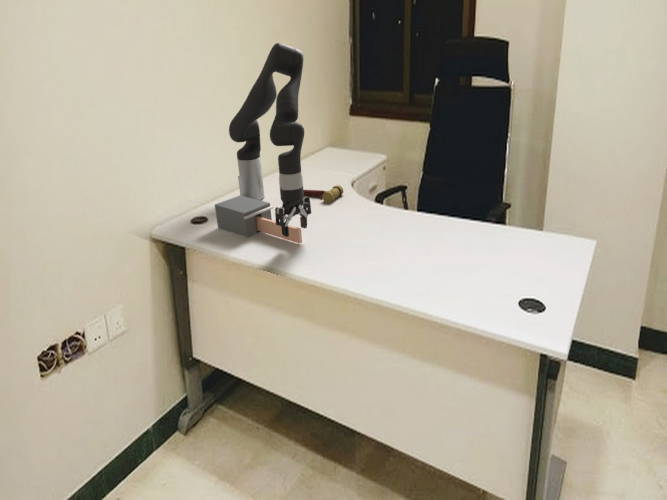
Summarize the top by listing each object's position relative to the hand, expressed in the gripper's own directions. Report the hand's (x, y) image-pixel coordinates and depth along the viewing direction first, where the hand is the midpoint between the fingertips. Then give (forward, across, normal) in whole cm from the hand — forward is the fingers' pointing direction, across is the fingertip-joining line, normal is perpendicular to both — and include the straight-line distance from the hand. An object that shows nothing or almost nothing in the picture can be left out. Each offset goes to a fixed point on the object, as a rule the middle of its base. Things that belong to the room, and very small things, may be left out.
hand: (295, 231), depth 187 cm
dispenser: (+4, 0, -26) cm, 26 cm away
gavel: (+5, -40, -27) cm, 48 cm away
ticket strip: (+4, 0, -9) cm, 10 cm away
